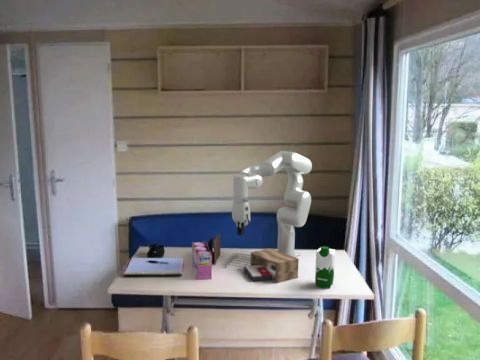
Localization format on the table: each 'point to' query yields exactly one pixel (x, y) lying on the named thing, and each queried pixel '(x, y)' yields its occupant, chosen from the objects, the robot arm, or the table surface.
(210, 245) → the letter holder
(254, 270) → the calculator
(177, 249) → the table surface
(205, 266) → the gum box
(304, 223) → the robot arm
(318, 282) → the milk carton
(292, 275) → the tan block
